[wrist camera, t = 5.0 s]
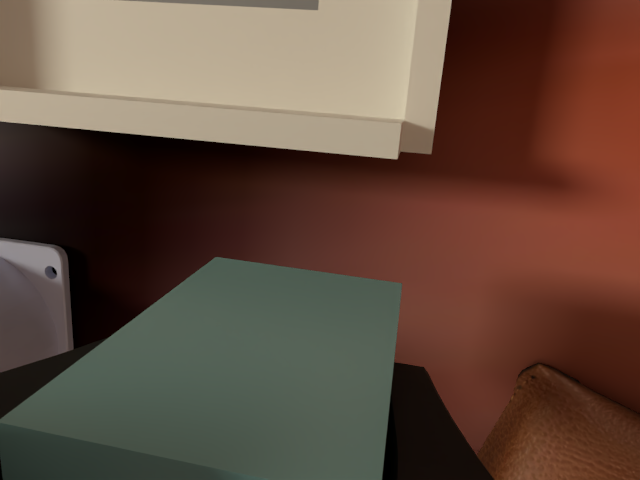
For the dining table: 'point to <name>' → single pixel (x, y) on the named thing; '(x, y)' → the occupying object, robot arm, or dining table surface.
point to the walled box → (230, 70)
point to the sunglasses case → (562, 433)
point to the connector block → (223, 385)
